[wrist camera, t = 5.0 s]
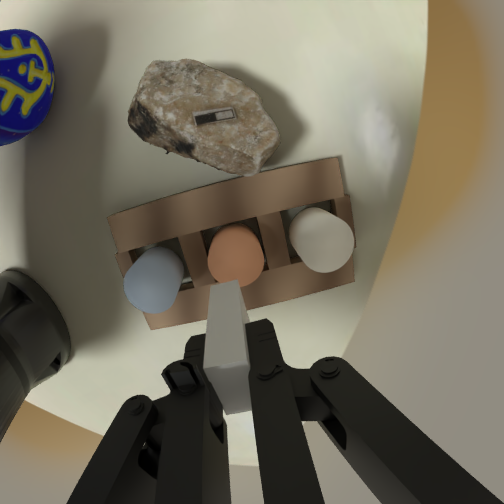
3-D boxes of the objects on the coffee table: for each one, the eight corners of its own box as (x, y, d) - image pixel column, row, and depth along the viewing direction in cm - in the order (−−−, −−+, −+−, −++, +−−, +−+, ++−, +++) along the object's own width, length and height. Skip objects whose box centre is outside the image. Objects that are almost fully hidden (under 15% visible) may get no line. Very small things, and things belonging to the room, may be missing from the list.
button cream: (293, 261, 25) (304, 279, 21) (284, 213, 23) (294, 224, 20) (339, 249, 25) (356, 264, 21) (332, 202, 23) (350, 210, 20)
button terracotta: (218, 273, 26) (216, 292, 22) (205, 229, 25) (200, 242, 21) (263, 262, 26) (269, 280, 22) (253, 217, 25) (257, 228, 21)
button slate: (147, 296, 25) (135, 317, 21) (131, 253, 23) (115, 269, 20) (190, 286, 25) (184, 307, 21) (175, 241, 23) (165, 256, 20)
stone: (257, 183, 24) (268, 186, 17) (130, 143, 22) (97, 133, 15) (284, 111, 22) (305, 88, 16) (159, 73, 20) (137, 41, 14)
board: (150, 323, 28) (146, 330, 26) (108, 215, 24) (102, 219, 22) (353, 274, 28) (359, 280, 26) (336, 156, 24) (342, 156, 22)
